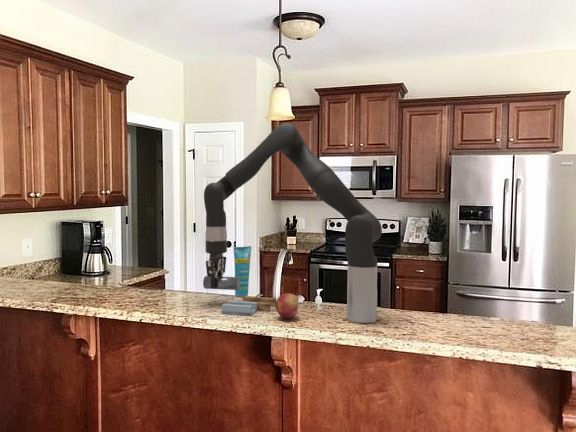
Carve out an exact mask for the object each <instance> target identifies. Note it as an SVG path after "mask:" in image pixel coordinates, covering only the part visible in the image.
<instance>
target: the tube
mask: <svg viewBox="0 0 576 432" xmlns="http://www.w3.org/2000/svg"><path fill="white" fill-rule="evenodd" d="M251 254H252V245H250V246H249V245H247V246H233V258H234V277H238V278H239V281H240V285H239V289H238V290H234V291H235V292H234V293H235V296H236V297H244V296H246V297H249V296H248V295H249V284H250V283H249V282H250V281H249V280H250V269H251V268H250V267H251V256H252V255H251Z"/></svg>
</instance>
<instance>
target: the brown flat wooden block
mask: <svg viewBox="0 0 576 432" xmlns="http://www.w3.org/2000/svg"><path fill="white" fill-rule="evenodd" d="M240 301H241V302H256V303H257V312H258V311H260V312H261V311H262V312H271V311H272V309H271V308H272V307H276V306H275V303H276V301H277V298H274V297H259V296H258V297H257V296H242V300H240Z"/></svg>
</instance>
